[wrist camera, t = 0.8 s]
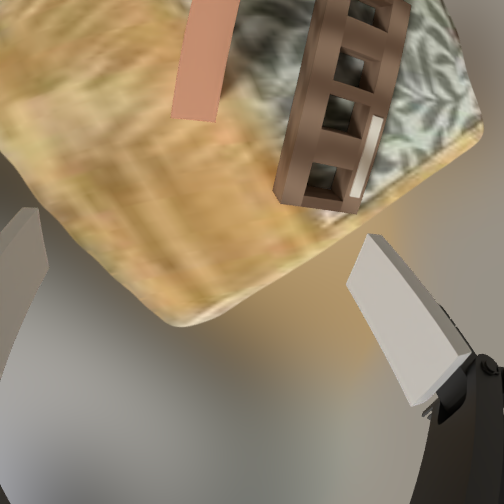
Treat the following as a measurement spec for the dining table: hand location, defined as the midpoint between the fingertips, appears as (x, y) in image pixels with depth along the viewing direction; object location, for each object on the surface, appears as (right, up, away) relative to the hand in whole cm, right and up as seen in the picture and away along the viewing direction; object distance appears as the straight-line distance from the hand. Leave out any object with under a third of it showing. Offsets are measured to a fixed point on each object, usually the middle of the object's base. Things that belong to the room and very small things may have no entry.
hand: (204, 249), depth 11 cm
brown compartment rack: (+11, +17, +17) cm, 26 cm away
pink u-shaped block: (-3, +18, +13) cm, 22 cm away
